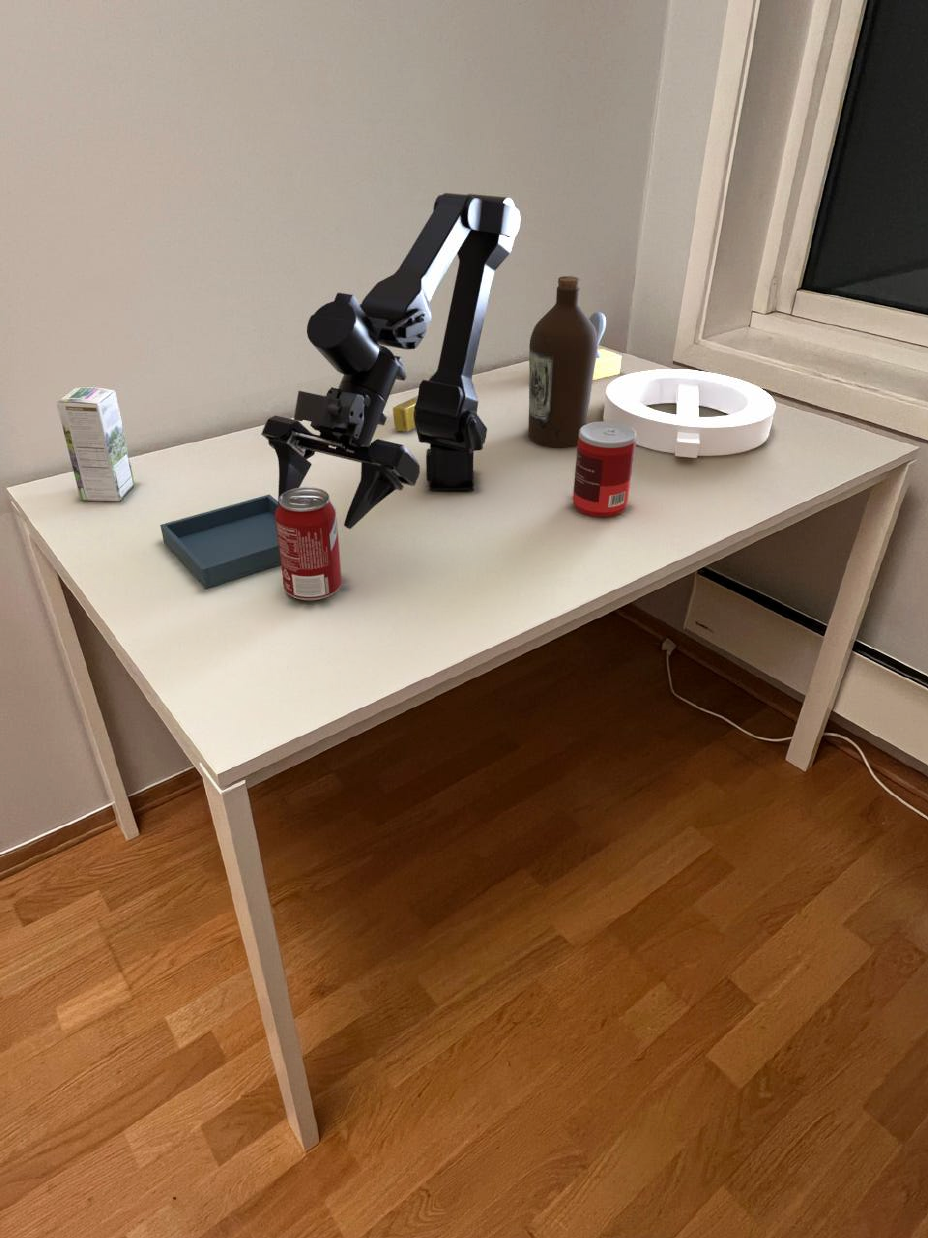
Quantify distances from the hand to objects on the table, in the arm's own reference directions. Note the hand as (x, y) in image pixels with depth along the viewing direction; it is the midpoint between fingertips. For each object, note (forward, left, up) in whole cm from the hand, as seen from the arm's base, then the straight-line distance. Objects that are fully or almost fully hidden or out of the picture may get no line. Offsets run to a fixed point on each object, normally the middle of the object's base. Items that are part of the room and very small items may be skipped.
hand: (313, 518), depth 96 cm
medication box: (-9, -53, -9) cm, 54 cm away
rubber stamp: (-42, -79, -9) cm, 90 cm away
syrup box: (+34, -24, -9) cm, 42 cm away
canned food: (-36, -22, -9) cm, 43 cm away
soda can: (+1, +1, -9) cm, 9 cm away
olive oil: (-32, -47, -9) cm, 58 cm away
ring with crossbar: (-55, -54, -9) cm, 78 cm away
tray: (+11, -9, -9) cm, 17 cm away
